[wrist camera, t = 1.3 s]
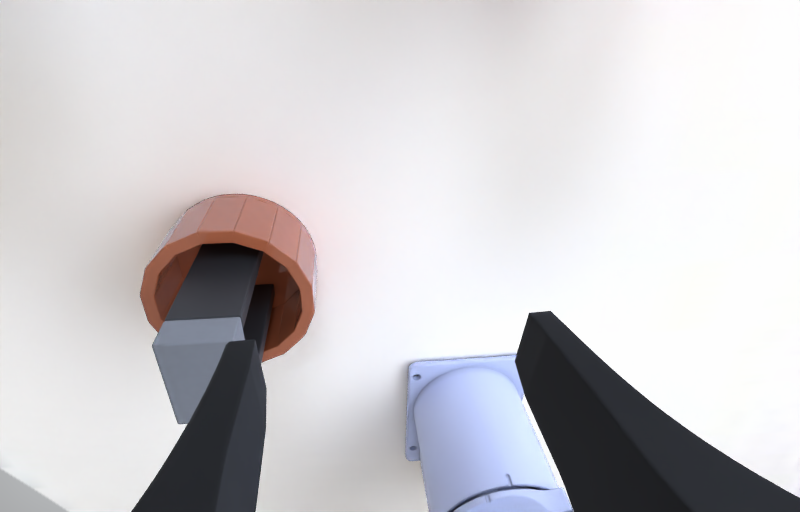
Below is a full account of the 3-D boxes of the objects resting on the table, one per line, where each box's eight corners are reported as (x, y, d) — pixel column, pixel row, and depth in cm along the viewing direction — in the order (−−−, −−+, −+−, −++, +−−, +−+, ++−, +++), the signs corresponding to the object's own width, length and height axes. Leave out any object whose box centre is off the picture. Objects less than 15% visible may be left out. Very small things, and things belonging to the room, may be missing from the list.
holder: (321, 312, 28) (319, 360, 24) (185, 319, 27) (163, 370, 23) (311, 191, 24) (306, 228, 20) (151, 196, 23) (119, 235, 19)
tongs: (275, 293, 26) (251, 419, 19) (222, 296, 26) (177, 425, 18) (265, 227, 24) (234, 340, 17) (208, 230, 24) (150, 345, 16)
